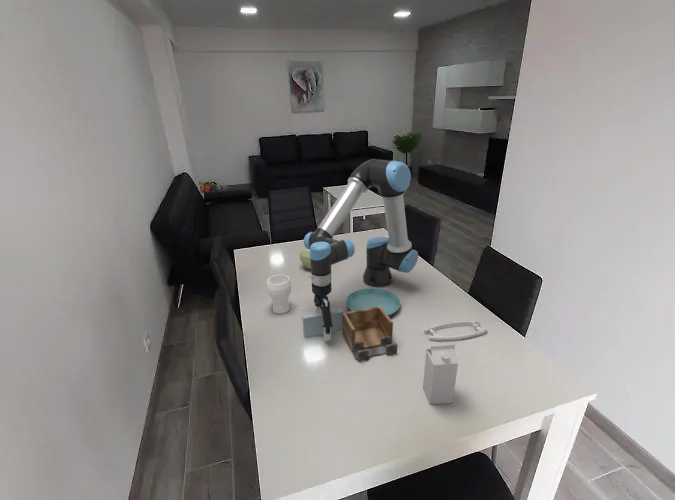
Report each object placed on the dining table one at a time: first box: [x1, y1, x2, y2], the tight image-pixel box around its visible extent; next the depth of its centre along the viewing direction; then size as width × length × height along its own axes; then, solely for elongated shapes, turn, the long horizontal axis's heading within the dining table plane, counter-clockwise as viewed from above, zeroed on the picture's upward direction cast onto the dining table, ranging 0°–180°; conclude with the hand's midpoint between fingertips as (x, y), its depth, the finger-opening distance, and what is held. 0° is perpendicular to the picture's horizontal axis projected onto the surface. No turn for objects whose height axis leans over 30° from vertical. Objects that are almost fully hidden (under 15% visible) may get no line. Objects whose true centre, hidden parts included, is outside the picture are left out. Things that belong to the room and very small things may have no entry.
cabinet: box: [342, 306, 398, 363], centre depth 133 cm, size 16×18×10 cm
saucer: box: [345, 287, 401, 317], centre depth 158 cm, size 24×24×3 cm
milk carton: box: [422, 343, 459, 405], centre depth 106 cm, size 7×7×19 cm
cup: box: [266, 274, 292, 315], centre depth 156 cm, size 11×11×15 cm
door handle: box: [423, 320, 488, 342], centre depth 139 cm, size 3×10×25 cm
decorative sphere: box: [299, 245, 311, 270], centre depth 197 cm, size 15×15×15 cm
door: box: [301, 308, 344, 339], centre depth 140 cm, size 16×2×9 cm, turn 106°
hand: (323, 329), depth 141 cm, fingers open, 13 cm apart
